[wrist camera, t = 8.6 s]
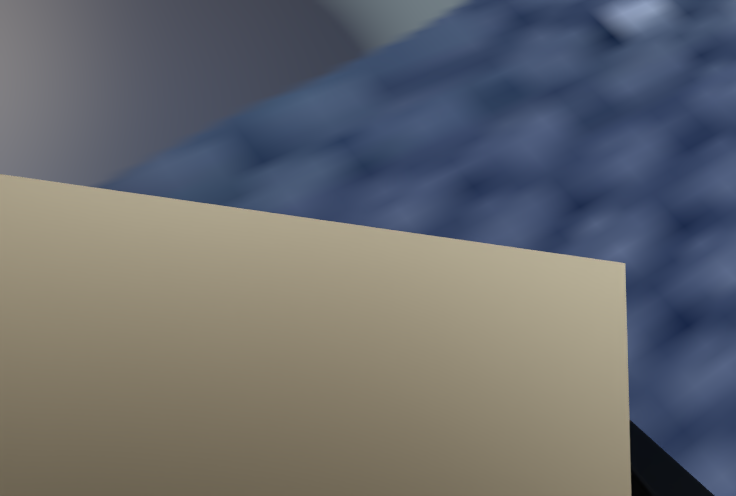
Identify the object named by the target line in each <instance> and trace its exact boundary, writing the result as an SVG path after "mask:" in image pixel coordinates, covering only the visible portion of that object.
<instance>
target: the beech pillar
mask: <svg viewBox="0 0 736 496" xmlns="http://www.w3.org/2000/svg"><path fill="white" fill-rule="evenodd" d="M0 496H631V463H630V426H629V389H628V352H627V315H626V277H625V263H619V262H612V261H605V260H598V259H591V258H584V257H577V256H570V255H563V254H556V253H549V252H542V251H535V250H528V249H521V248H514V247H507V246H500V245H493V244H486V243H479V242H472V241H465V240H458V239H451V238H444V237H437V236H430V235H423V234H416V233H409V232H402V231H395V230H388V229H381V228H374V227H367V226H360V225H353V224H346V223H339V222H332V221H325V220H318V219H311V218H304V217H297V216H290V215H283V214H276V213H269V212H262V211H255V210H248V209H241V208H234V207H227V206H220V205H213V204H206V203H199V202H192V201H185V200H178V199H171V198H164V197H157V196H150V195H142V194H135V193H128V192H121V191H114V190H107V189H100V188H93V187H86V186H79V185H72V184H65V183H58V182H51V181H44V180H37V179H30V178H23V177H16V176H9V175H2V174H0Z"/></svg>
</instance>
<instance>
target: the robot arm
mask: <svg viewBox="0 0 736 496" xmlns="http://www.w3.org/2000/svg"><path fill="white" fill-rule="evenodd" d="M629 426H630V463H631V496H714V495H713V494H712V493H711V492H710V491H709V490H707V489H706V488H705V487H704V486H703V485H702V484H701V483H700V482H699V481H697V480H696V479H695V478H694V477H693V476H692V475H691V474H690V473H689V472H687V471H686V470H685V469H684V468H683V467H682V466H681V465H680V464H679V463H677V462H676V461H675V460H674V459H673V458H672V457H671V456H670V455H669V454H667V453H666V452H665V451H664V450H663V449H662V448H661V447H660V446H658V445H657V444H656V443H655V442H654V441H653V440H652V439H651V438H650V437H648V436H647V435H646V434H645V433H644V432H643V431H642V430H641V429H640V428H638V427H637V426H636V425H635V424H634V423H633V422H632V421H631V420H630V419H629Z"/></svg>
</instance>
